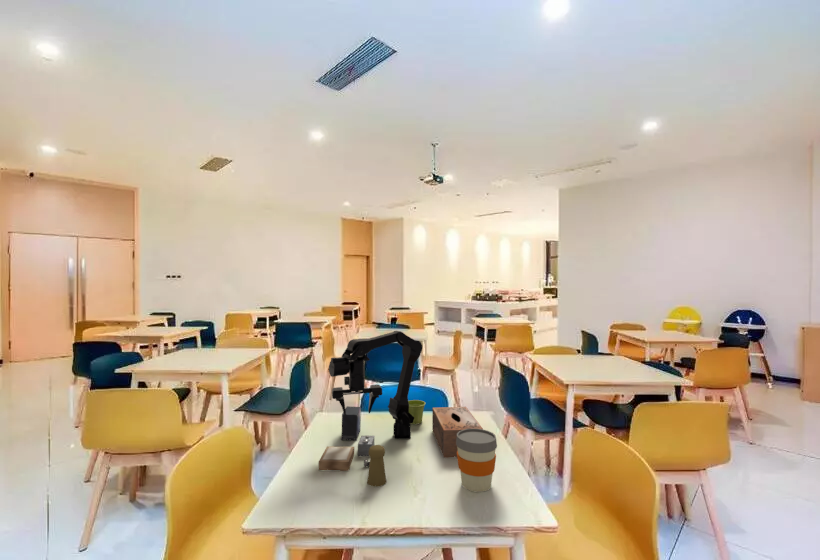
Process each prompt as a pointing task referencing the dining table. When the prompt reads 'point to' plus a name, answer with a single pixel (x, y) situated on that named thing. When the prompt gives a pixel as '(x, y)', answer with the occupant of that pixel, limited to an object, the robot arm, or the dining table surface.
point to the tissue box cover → (451, 427)
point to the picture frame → (336, 458)
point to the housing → (365, 445)
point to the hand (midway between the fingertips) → (357, 414)
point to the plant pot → (416, 410)
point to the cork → (376, 466)
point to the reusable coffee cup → (476, 458)
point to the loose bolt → (366, 463)
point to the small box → (351, 423)
